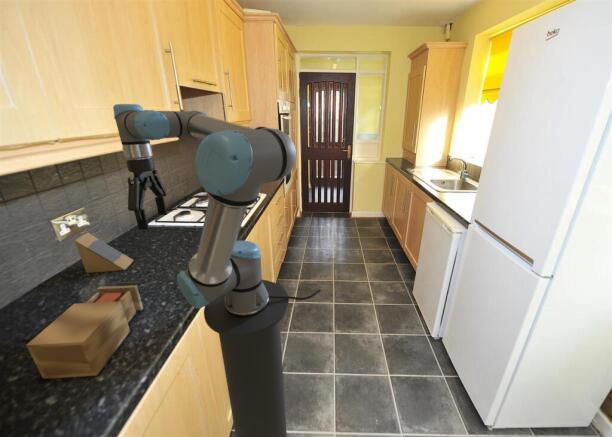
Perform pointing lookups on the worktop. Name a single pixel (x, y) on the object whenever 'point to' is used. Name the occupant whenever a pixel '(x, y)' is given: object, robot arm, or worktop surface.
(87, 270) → the sandwich container
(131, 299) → the drawer
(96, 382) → the worktop surface
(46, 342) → the tan rectangular box
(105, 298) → the block
